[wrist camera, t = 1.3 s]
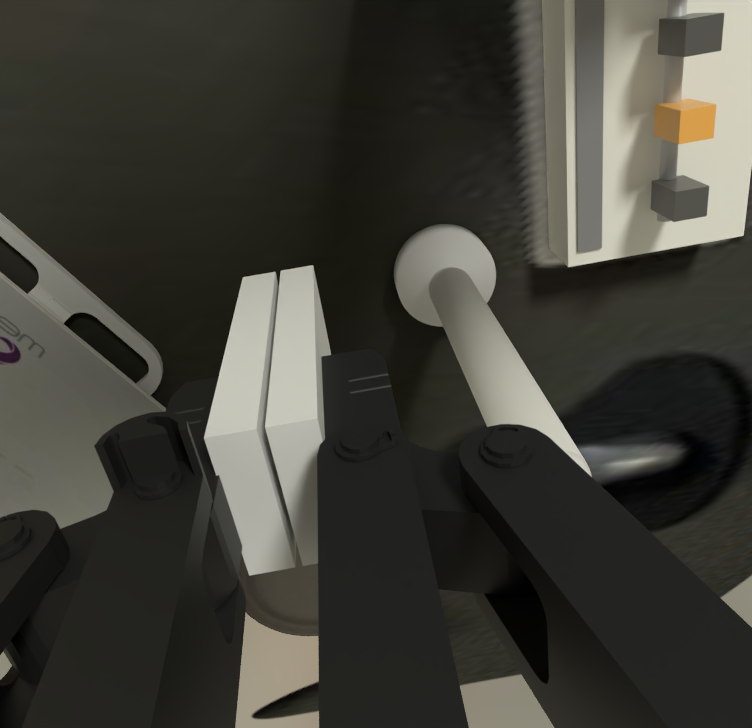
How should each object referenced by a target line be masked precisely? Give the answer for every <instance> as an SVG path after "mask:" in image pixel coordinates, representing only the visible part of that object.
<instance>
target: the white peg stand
mask: <svg viewBox="0 0 752 728" xmlns="http://www.w3.org/2000/svg"><path fill="white" fill-rule="evenodd" d="M394 282H395V286H396V289H397V292H398V295H399V298H400V300H401V303H402V305H403V306H404V308H405V309H406V310H407V312H408V313H409V314H410V315H412V316H413V317H414V318H415V319H417V320H418V321H420V322H422V323H425V324H428V325H432V326H439V327H444V330H445V332H446V334H447V336H448V339H449V341H450V343H451V346H452V348H453V350H454V352H455V355H456V357H457V359H458V361H459V364H460V366H461V368H462V371H463V373H464V375H465V377H466V380H467V382H468V384H469V386H470V389H471V391H472V393H473V396H474V398H475V400H476V402H477V405H478V407H479V409H480V411H481V414H482V416H483V418H484V421H485V423H486V425H487V427H489V426H494V425H499V424H518V425H523V426H527V427H531V428H534V429H537V430H539V431H540V432H542V433H543V434H545V435H547V436H548V437H549V438H551V439H552V440H553V441H554V442H555V443H556V444H557V445H558V446H559V447H560V448H561V449H562V450H563V451H564V452H565V453H566V454H568V455H569V456H570V457H571V458H572V459H573V460H574V461H575V462H576V463H577V464H578V465H579V466H580V467H581V468H582V469H584V470H585V471H586V472H587V473H588V474H589V475H590V476H591V472H590V469H589V467H588V465H587V463H586V461H585V460H584V458H583V456H582V455H581V453H580V452H579V450H578V448H577V447H576V445H575V444H574V442H573V441H572V439H571V437H570V436H569V434H568V433H567V431H566V429H565V428H564V426H563V425H562V423H561V421H560V420H559V418H558V417H557V415H556V413H555V412H554V410H553V409H552V407H551V405H550V404H549V402H548V401H547V399H546V397H545V396H544V394H543V393H542V391H541V389H540V388H539V386H538V385H537V383H536V381H535V380H534V378H533V377H532V375H531V373H530V372H529V370H528V369H527V367H526V366H525V364H524V362H523V361H522V359H521V358H520V356H519V354H518V353H517V351H516V350H515V348H514V346H513V345H512V343H511V342H510V340H509V338H508V337H507V335H506V334H505V332H504V330H503V329H502V327H501V326H500V324H499V322H498V321H497V319H496V318H495V316H494V314H493V313H492V311H491V310H490V308H489V306H488V305H487V302H488V301H489V299H490V297H491V295H492V293H493V290H494V287H495V282H496V269H495V264H494V261H493V258H492V256H491V254H490V252H489V251H488V250H487V248H486V247H485V246H484V244H483V243H482V242H481V240H480V239H479V238H478V237H477V236H476V235H475V234H474V233H472V232H471V231H469V230H468V229H466V228H464V227H461V226H458V225H454V224H437V225H432V226H429V227H426V228H424V229H421V230H420V231H418V232H416V233H415V234H414V235H412V236H411V237H410V238H409V239H408V240H407V241H406V242H405V243H404V245H403V246H402V247H401V249H400V251H399V253H398V255H397V257H396V261H395V264H394ZM591 477H592V476H591Z"/></svg>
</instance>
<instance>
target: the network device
mask: <svg viewBox="0 0 752 728" xmlns="http://www.w3.org/2000/svg"><path fill="white" fill-rule="evenodd" d="M0 236H1V237H2V238H3V239H4V240H5V241H6V242H8V243H9V244H10V245H11V246H12V247H14V248H15V249H16V250H17V251H18V252H19V253H21V254H22V255H23V256H24V257H25V258H26V259H28V260H29V261H30V262H31V263H32V264H33V265H34V266H35V267H36V269H37V271H38V274H39V281H38V283H37V285H36V286H35V287H34V288H33V289H32V290H31V291H30V292H29V293H28V294H27V293H25V292H24V291H23V290H22V289H20V288H19V287H18V286H17V285H16V284H14V283H13V282H12V281H11V280H10V279H8V278H7V277H6V276H5V275H3V274H2V273H1V272H0V518H1V517H3V516H7V515H9V514H12V513H16V512H21V511H28V510H40V511H47V512H48V513H49V514H51V515H52V516H53V517H54V518H55V519H56V521H57V523H58V525H59V527H60V529H61V528H64V527H66V526H69V525H72V524H74V523H77V522H80V521H82V520H85V519H87V518H90V517H93V516H95V515H97V514H99V513H102V512H104V511H106V510H107V508H108V505H109V503H110V500H111V497H112V495H113V492H114V491H113V489H112V487H111V484H110V482H109V480H108V477H107V475H106V473H105V470H104V468H103V466H102V463H101V461H100V459H99V456H98V454H97V452H96V449H95V447H94V445H95V444H96V443H97V441H98V440H99V439H100V438H101V436H102V435H103V434H105V433H106V432H107V431H109V430H110V429H111V428H113V427H114V426H116V425H118V424H120V423H122V422H124V421H126V420H128V419H130V418H132V417H136V416H140V415H143V414H147V413H151V412H164V411H166V408H165V407H164V406H162V405H161V404H160V403H159V402H158V401H156V400H155V399H154V398H153V397H152V396H150V395H152V394H153V392H154V391H155V390H156V389H157V387H158V385H159V384H160V381H161V379H162V375H163V363H162V360H161V357H160V355H159V353H158V351H157V350H156V348H155V347H154V346H153V345H152V344H151V343H150V342H149V341H148V340H146V339H145V338H144V337H143V336H142V335H141V334H140V333H138V332H137V331H136V330H135V329H134V328H133V327H131V326H130V325H129V324H128V323H127V322H126V321H125V320H123V319H122V318H121V317H120V316H119V315H118V314H116V313H115V312H114V311H113V310H112V309H111V308H110V307H108V306H107V305H106V304H105V303H104V302H103V301H101V300H100V299H99V298H98V297H97V296H96V295H95V294H93V293H92V292H91V291H90V290H89V289H88V288H86V287H85V286H84V285H83V284H82V283H81V282H80V281H78V280H77V279H76V278H75V277H74V276H73V275H71V274H70V273H69V272H68V271H67V270H66V269H65V268H63V267H62V266H61V265H60V264H59V263H58V262H56V261H55V260H54V259H53V258H52V257H51V256H50V255H48V254H47V253H46V252H45V251H44V250H43V249H41V248H40V247H39V246H38V245H37V244H36V243H35V242H33V241H32V240H31V239H30V238H29V237H28V236H26V235H25V234H24V233H23V232H22V231H21V230H20V229H18V228H17V227H16V226H15V225H14V224H13V223H11V222H10V221H9V220H8V219H7V218H6V217H5V216H3V215H2V214H1V213H0ZM80 312H82V313H88V314H91V315H93V316H94V317H96V318H97V319H98V320H99V321H101V322H102V323H103V324H104V325H105V326H106V327H108V328H109V329H110V330H111V331H112V332H114V333H115V334H116V335H117V336H118V337H119V338H121V339H122V340H123V341H124V342H125V343H126V344H128V345H129V346H130V347H131V348H132V349H134V350H135V351H136V352H137V353H138V354H139V355H141V356H142V357H143V358H144V359H145V360H146V362H147V363H148V366H149V372H148V373H147V374H146V375H145V376H144V377H143V378H142V379H141V380H140V381H138V382H137V383H135V382H133V381H132V380H131V379H130V378H128V377H127V376H126V375H125V374H124V373H122V372H121V371H120V370H119V369H118V368H116V367H115V366H114V365H113V364H111V363H110V362H109V361H108V360H107V359H105V358H104V357H103V356H102V355H101V354H99V353H98V352H97V351H96V350H94V349H93V348H92V347H91V346H90V345H88V344H87V343H86V342H85V341H84V340H82V339H81V338H80V337H79V336H78V335H76V334H75V333H74V332H73V331H71V330H70V329H69V328H68V327H67V326H65V325H64V322H65V321H66V320H67V319H68V318H69V317H70V316H71V315H73V314H75V313H80Z"/></svg>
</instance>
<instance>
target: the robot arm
mask: <svg viewBox="0 0 752 728" xmlns="http://www.w3.org/2000/svg"><path fill="white" fill-rule="evenodd" d="M94 447H95V449H96V452H97V454H98V456H99V459H100V461H101V463H102V466H103V468H104V470H105V473H106V475H107V477H108V480H109V482H110V484H111V487H112V489H113V491H114V492H113V495H112V497H111V500H110V503H109V505H108V508H107V510H106V511H104V512H102V513H99V514H97V515H95V516H93V517H90V518H87V519H85V520H82V521H80V522H77V523H74V524H72V525H69V526H66V527H64V528H61V529H60V527H59V525H58V523H57V521H56V519H55V518H54V517H53V516H52V515H51V514H49V513H48V512H47V511H40V510H28V511H21V512H16V513H12V514H9V515H7V516H3V517H1V518H0V655H1V653H2V652H3V651H4V653H5V654H6V656H7V658H8V659H9V661H10V663H11V664H12V667H11V668H10V670H9V671H8V673H7V674H6V675H5V676H4V677H3V678H2V679H1V680H0V728H235V722H236V711H237V700H238V688H239V678H240V665H241V655H242V644H243V633H244V621H245V611H246V597H245V591H244V588H243V585H242V582H241V579H240V576H239V570H240V561H241V553H242V555H243V558H244V562H245V565H246V568H247V571H248V574H249V576H250V575H256V574H261V573H267V572H273V571H278V570H284V569H289V568H295V562H296V543H297V546H298V550H299V554H300V557H301V561H302V565H303V566H306V565H312V564H317V563H318V623H319V728H469V727H468V722H467V718H466V713H465V709H464V704H463V700H462V695H461V690H460V686H459V681H458V676H457V672H456V667H455V663H454V658H453V653H452V649H451V644H450V640H449V635H448V631H447V626H446V621H445V617H444V612H443V608H442V603H441V598H440V594H439V589H443V590H453V591H464V592H474V595H475V598H476V601H477V603H478V605H479V606H480V608H481V610H482V611H483V613H484V614H485V616H486V618H487V619H488V621H489V622H490V624H491V626H492V627H493V629H494V631H495V632H496V634H497V635H498V637H499V639H500V640H501V642H502V643H503V645H504V647H505V648H506V650H507V652H508V653H509V655H510V656H511V658H512V660H513V661H514V663H515V664H516V666H517V668H518V669H519V671H520V673H521V674H522V676H523V677H524V679H525V681H526V682H527V684H528V685H529V687H530V689H531V690H532V692H533V694H534V695H535V697H536V698H537V700H538V702H539V703H540V705H541V707H542V708H543V710H544V711H545V713H546V714H547V716H548V718H549V719H550V721H551V723H552V724H553V726H554V727H555V728H752V627H751V626H749V625H748V624H747V623H746V622H745V621H744V620H743V619H742V618H741V617H740V616H739V615H738V614H737V613H736V612H735V611H734V610H732V609H731V608H730V607H729V606H728V605H727V604H726V603H725V602H724V601H723V600H722V599H721V598H720V597H719V596H718V595H716V594H715V593H714V592H713V591H712V590H711V589H710V588H709V587H708V586H707V585H706V584H705V583H704V582H703V581H702V580H701V579H699V578H698V577H697V576H696V575H695V574H694V573H693V572H692V571H691V570H690V569H689V568H688V567H687V566H686V565H685V564H684V563H682V562H681V561H680V560H679V559H678V558H677V557H676V556H675V555H674V554H673V553H672V552H671V551H670V550H669V549H668V548H666V547H665V546H664V545H663V544H662V543H661V542H660V541H659V540H658V539H657V538H656V537H655V536H654V535H653V534H652V533H651V532H649V531H648V530H647V529H646V528H645V527H644V526H643V525H642V524H641V523H640V522H639V521H638V520H637V519H636V518H635V517H634V516H632V515H631V514H630V513H629V512H628V511H627V510H626V509H625V508H624V507H623V506H622V505H621V504H620V503H619V502H618V501H616V500H615V499H614V498H613V497H612V496H611V495H610V494H609V493H608V492H607V491H606V490H605V489H604V488H603V487H602V486H601V485H599V484H598V483H597V482H596V481H595V480H594V479H593V478H592V477H591V476H590V475H589V474H588V473H587V472H586V471H585V470H584V469H582V468H581V467H580V466H579V465H578V464H577V463H576V462H575V461H574V460H573V459H572V458H571V457H570V456H569V455H568V454H566V453H565V452H564V451H563V450H562V449H561V448H560V447H559V446H558V445H557V444H556V443H555V442H554V441H553V440H552V439H551V438H549V437H548V436H547V435H545V434H543V433H542V432H540V431H539V430H537V429H534V428H531V427H527V426H523V425H518V424H499V425H494V426H489V427H484V428H482V429H480V430H478V431H476V432H474V433H472V434H470V435H469V436H468V437H467V438H466V439H465V440H464V441H463V442H462V443H461V446H460V450H459V452H443V451H434V450H429V449H426V448H422V447H419V446H418V445H416V444H414V443H412V442H410V441H409V440H408V439H407V438H406V437H405V436H404V434H403V432H402V430H401V426H400V422H399V417H398V413H397V409H396V404H395V400H394V396H393V391H392V387H391V383H390V378H389V374H388V370H387V365H386V361H385V358H384V357H383V356H381V355H380V354H379V353H378V352H376V351H375V350H374V349H372V348H368V349H362V350H356V351H350V352H345V353H339V354H333V355H331V351H330V346H329V341H328V336H327V331H326V326H325V321H324V316H323V311H322V306H321V301H320V296H319V291H318V287H317V282H316V277H315V272H314V267H313V265H311V266H305V267H300V268H294V269H288V270H282V271H281V273H280V283H279V285H278V281H277V276H276V272H271V273H265V274H259V275H253V276H248V277H243V279H242V283H241V287H240V291H239V295H238V299H237V304H236V308H235V312H234V316H233V320H232V324H231V328H230V332H229V336H228V341H227V345H226V349H225V353H224V357H223V361H222V365H221V369H220V374H219V376H218V377H213V378H207V379H201V380H195V381H190V382H185V383H184V384H183V385H182V386H181V387H180V388H179V389H178V390H177V391H176V392H175V393H174V394H173V395H172V396H171V397H170V400H169V403H168V406H167V408H166V411H164V412H151V413H147V414H143V415H140V416H136V417H132V418H130V419H128V420H126V421H124V422H122V423H120V424H118V425H116V426H114V427H113V428H111V429H110V430H109V431H107V432H106V433H105V434H103V435H102V436H101V438H100V439H99V440H98V441H97V443H96V444H95V445H94Z"/></svg>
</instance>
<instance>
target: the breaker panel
mask: <svg viewBox="0 0 752 728" xmlns="http://www.w3.org/2000/svg"><path fill="white" fill-rule="evenodd" d="M667 8H668V0H542V27H543V61H544V95H545V129H546V163H547V197H548V230H549V249H550V250H551V251H552V252H553V253H554V254H555V255H556V256H557V257H558V258H559V259H560V260H561V261H562V262H563V263H564V264H566V265H567V266H568V267H572V266H578V265H584V264H589V263H595V262H600V261H606V260H611V259H617V258H622V257H628V256H633V255H639V254H645V253H650V252H656V251H661V250H667V249H672V248H678V247H683V246H689V245H695V244H700V243H706V242H711V241H717V240H722V239H728V238H733V237H739V236H744V227H745V218H746V210H747V201H748V193H749V184H750V175H751V167H752V0H688V2H687V14H691V13H724V24H723V35H722V47H721V51H716V52H711V53H705V54H700V55H694V56H688V57H684V65H683V81H682V97H681V100H682V99H688V98H689V99H694V100H698V101H703V102H708V103H712V104H716V116H715V127H714V138H712V139H706V140H700V141H695V142H689V143H684V144H679V145H678V160H677V176H681V175H684V176H687V177H689V178H692V179H694V180H696V181H699V182H701V183H703V184H706V185H708V186H709V196H708V207H707V216H705V217H699V218H694V219H688V220H682V221H677V222H673V221H669V222H660V221H657V212H655V211H653V210H651V188H652V181H653V180H658V179H659V166H660V146H661V138H659V137H656V136H654V122H655V104H660V103H663V87H664V67H665V55H659V54H658V35H659V19H662V18H667Z"/></svg>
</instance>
